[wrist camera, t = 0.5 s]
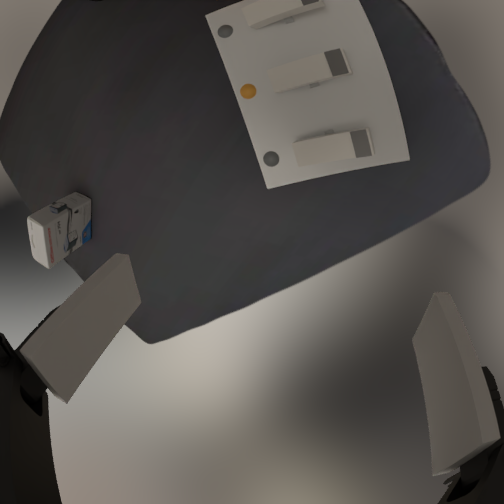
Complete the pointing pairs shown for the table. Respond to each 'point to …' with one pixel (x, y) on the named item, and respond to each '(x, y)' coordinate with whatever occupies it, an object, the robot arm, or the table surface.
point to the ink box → (60, 228)
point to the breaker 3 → (334, 147)
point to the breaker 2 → (310, 70)
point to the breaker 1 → (276, 10)
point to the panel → (309, 87)
